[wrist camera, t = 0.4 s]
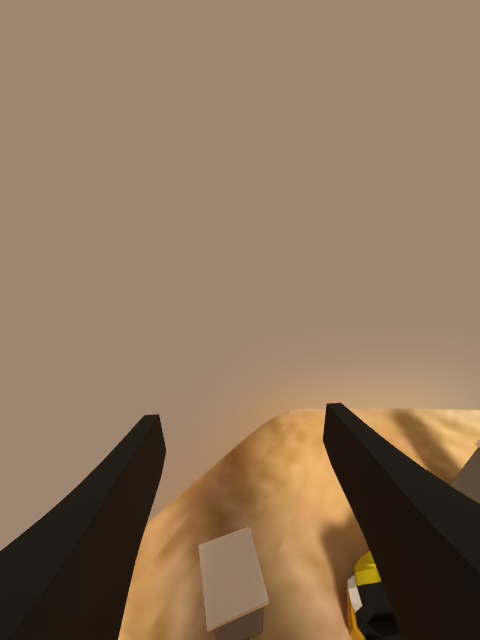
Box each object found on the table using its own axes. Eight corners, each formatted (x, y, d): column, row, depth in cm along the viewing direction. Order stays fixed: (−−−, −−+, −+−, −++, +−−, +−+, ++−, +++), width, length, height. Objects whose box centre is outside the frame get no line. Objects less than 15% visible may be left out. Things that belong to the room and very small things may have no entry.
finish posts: (503, 518, 22) (560, 467, 18) (219, 657, 16) (206, 629, 12) (464, 481, 25) (506, 429, 21) (211, 587, 19) (198, 545, 15)
